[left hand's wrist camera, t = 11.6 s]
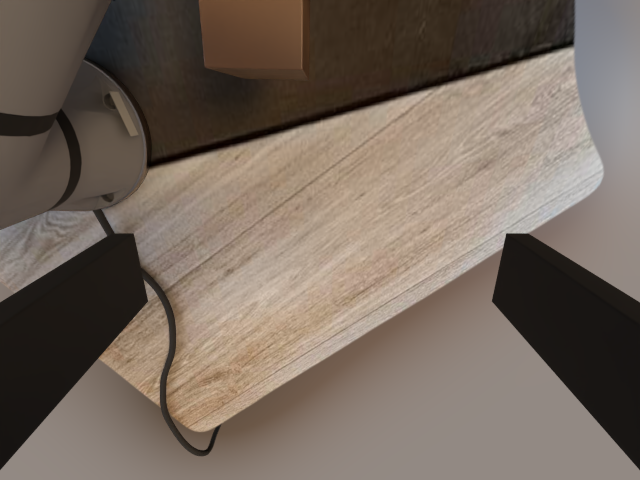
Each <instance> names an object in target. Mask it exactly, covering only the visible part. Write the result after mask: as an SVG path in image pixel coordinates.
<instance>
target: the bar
mask: <svg viewBox="0 0 640 480" xmlns="http://www.w3.org/2000/svg"><path fill="white" fill-rule="evenodd" d="M199 10H200V21H201V32H202V43H203V54H204V65H205V68H208V69H212V70H215V71H219V72H222V73H226V74H229V75H233V76H236V77H240V78H243V79H276V80H309V44H310V0H199Z"/></svg>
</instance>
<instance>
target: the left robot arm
mask: <svg viewBox="0 0 640 480" xmlns="http://www.w3.org/2000/svg"><path fill="white" fill-rule="evenodd" d="M111 1H112V0H0V230H1V229H4V228H6V227H9V226H11V225H14V224H16V223H19V222H21V221H24V220H26V219H29V218H31V217H34V216H36V215H39V214H41V213H44V212H46V211H92V210H93V212H94V213H95V215H96V217H97V219H98V220H99V222H100V224H101V226H102V227H103V229H104V231H105V233H106V234H107V237H106V238H104V239H102V240H101V241H99V242H97V243H96V244H94V245H93V246H91V247H89V248H88V249H86V250H84V251H83V252H81V253H80V254H78V255H76V256H75V257H73V258H71V259H70V260H68V261H67V262H65V263H63V264H62V265H60V266H59V267H57V268H55V269H54V270H52V271H50V272H49V273H47V274H46V275H44V276H42V277H41V278H39V279H37V280H36V281H34V282H33V283H31V284H29V285H28V286H26V287H24V288H23V289H21V290H20V291H18V292H16V293H15V294H13V295H12V296H10V297H8V298H7V299H5V300H3V301H2V302H0V470H1V468H2V467H3V466H4V465H5V464H6V463H7V462H8V460H9V459H10V458H11V457H12V456H13V455H14V454H15V452H16V451H17V450H18V449H19V448H20V447H21V446H22V444H23V443H24V442H25V441H26V440H27V439H28V438H29V436H30V435H31V434H32V433H33V432H34V431H35V430H36V429H37V427H38V426H39V425H40V424H41V423H42V422H43V421H44V419H45V418H46V417H47V416H48V415H49V414H50V413H51V411H52V410H53V409H54V408H55V407H56V406H57V404H58V403H59V402H60V401H61V400H62V399H63V398H64V397H65V395H66V394H67V393H68V392H69V391H70V390H71V389H72V387H73V386H74V385H75V384H76V383H77V382H78V381H79V379H80V378H81V377H82V376H83V375H84V374H85V373H86V371H87V370H88V369H89V368H90V367H91V366H92V365H93V363H94V362H95V361H96V360H97V359H98V358H99V357H100V356H101V354H102V353H103V352H104V351H105V350H106V349H107V348H108V346H109V345H110V344H111V343H112V342H113V341H114V340H115V338H116V337H117V336H118V335H119V334H120V333H121V332H122V330H123V329H124V328H125V327H126V326H127V325H128V324H129V322H130V321H131V320H132V319H133V318H134V317H135V316H136V314H137V313H138V312H139V311H140V310H141V309H142V308H143V306H144V305H145V304H146V303H147V302H148V299H147V294H146V289H145V285H144V280H145V281H146V282H147V283H148V284H149V285H150V286H151V287H152V288H153V289H154V291H155V292H156V293H157V295H158V296H159V298H160V300H161V302H162V304H163V306H164V308H165V311H166V314H167V318H168V323H169V333H170V347H169V354H168V358H167V361H166V364H165V367H164V369H163V372H162V376H161V382H160V405H161V410H162V414H163V416H164V419H165V421H166V423H167V424H168V426H169V428H170V429H171V431H172V432H173V434H174V435H175V437H176V438H177V440H178V441H179V442H180V443H181V444H182V446H183V447H184V448H185V449H187V450H188V451H189V452H191V453H192V454H194V455H197V456H206V455H208V454H209V453H210V452H211V450H212V448H213V446H214V443H215V440H216V437H217V434H218V431H219V429H220V427H221V424H222V423H221V424H219V425H218V426H216V427H215V430H214V432H213V434H212V437H211V440H210V443H209V446H208V448H207V449H206V450H198V449H196V448H194V447H192V446H191V445H190V444H189V443H188V442H187V441H186V440H185V439H184V438H183V436H182V435H181V434H180V432H179V431H178V429H177V428H176V426H175V425H174V423H173V421H172V419H171V418H170V415H169V413H168V410H167V405H166V381H167V376H168V372H169V369H170V366H171V364H172V361H173V358H174V354H175V349H176V326H175V319H174V314H173V311H172V308H171V305H170V303H169V301H168V299H167V297H166V295H165V293H164V292H163V290H162V289H161V287H160V286H159V285H158V284H157V283H156V282H155V280H154V279H153V278H152V277H151V276H149V275H148V274H147V273H146V272H145V271H144V270H143V269H142V268H141V266H140V261H139V256H138V252H137V247H136V242H135V238H134V234H115V233H114V232H113V230H112V228H111V226H110V224H109V223H108V221H107V219H106V217H105V215H104V214H103V212H102V210H101V209H103V208H107V207H109V206H112V205H114V204H116V203H118V202H120V201H122V200H124V199H126V198H127V197H129V196H130V195H131V194H133V193H134V192H135V191H136V190H137V189H138V187H139V186H140V185H141V183H142V182H143V180H144V178H145V177H146V174H147V172H148V169H149V165H150V160H151V138H150V132H149V128H148V125H147V122H146V119H145V116H144V114H143V112H142V110H141V108H140V106H139V104H138V103H137V101H136V100H135V98H134V97H133V95H132V94H131V93H130V91H129V90H128V89H127V88H126V87H125V86H124V85H123V83H122V82H121V81H120V80H118V79H117V78H116V77H115V76H114V75H113V74H111V73H110V72H109V71H107V70H106V69H104V68H103V67H101V66H100V65H98V64H96V63H94V62H92V61H90V60H88V59H85V58H84V57H85V55H86V53H87V51H88V49H89V47H90V44H91V42H92V40H93V38H94V36H95V34H96V32H97V30H98V28H99V26H100V24H101V22H102V19H103V17H104V15H105V13H106V11H107V9H108V7H109V5H110V3H111ZM113 1H115V0H113ZM143 279H144V280H143ZM492 302H493V303H494V304H495V305H496V306H497V308H498V309H499V310H500V311H501V312H502V313H503V314H504V316H505V317H506V318H507V319H508V320H509V321H510V322H511V324H512V325H513V326H514V327H515V328H516V329H517V330H518V332H519V333H520V334H521V335H522V336H523V337H524V338H525V340H526V341H527V342H528V343H529V344H530V345H531V346H532V348H533V349H534V350H535V351H536V352H537V353H538V354H539V356H540V357H541V358H542V359H543V360H544V361H545V362H546V363H547V365H548V366H549V367H550V368H551V369H552V370H553V371H554V372H555V374H556V375H557V376H558V377H559V378H560V379H561V381H562V382H563V383H564V384H565V385H566V386H567V387H568V389H569V390H570V391H571V392H572V393H573V394H574V395H575V397H576V398H577V399H578V400H579V401H580V402H581V403H582V405H583V406H584V407H585V408H586V409H587V410H588V411H589V413H590V414H591V415H592V416H593V417H594V418H595V419H596V420H597V422H598V423H599V424H600V425H601V426H602V427H603V428H604V430H605V431H606V432H607V433H608V434H609V435H610V436H611V438H612V439H613V440H614V441H615V442H616V443H617V444H618V446H619V447H620V448H621V449H622V450H623V451H624V452H625V454H626V455H627V456H628V457H629V458H630V459H631V460H632V462H633V463H634V464H635V465H636V466H637V467H638V468H639V470H640V302H638V301H636V300H635V299H633V298H632V297H630V296H628V295H627V294H625V293H624V292H622V291H620V290H619V289H617V288H615V287H614V286H612V285H611V284H609V283H607V282H606V281H604V280H603V279H601V278H599V277H598V276H596V275H594V274H593V273H591V272H589V271H588V270H586V269H585V268H583V267H581V266H580V265H578V264H577V263H575V262H573V261H572V260H570V259H569V258H567V257H565V256H564V255H562V254H560V253H559V252H557V251H556V250H554V249H552V248H551V247H549V246H547V245H546V244H544V243H543V242H541V241H539V240H538V239H536V238H534V237H533V236H531V235H530V234H506V238H505V242H504V247H503V252H502V256H501V261H500V266H499V271H498V275H497V280H496V285H495V290H494V294H493V299H492Z"/></svg>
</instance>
